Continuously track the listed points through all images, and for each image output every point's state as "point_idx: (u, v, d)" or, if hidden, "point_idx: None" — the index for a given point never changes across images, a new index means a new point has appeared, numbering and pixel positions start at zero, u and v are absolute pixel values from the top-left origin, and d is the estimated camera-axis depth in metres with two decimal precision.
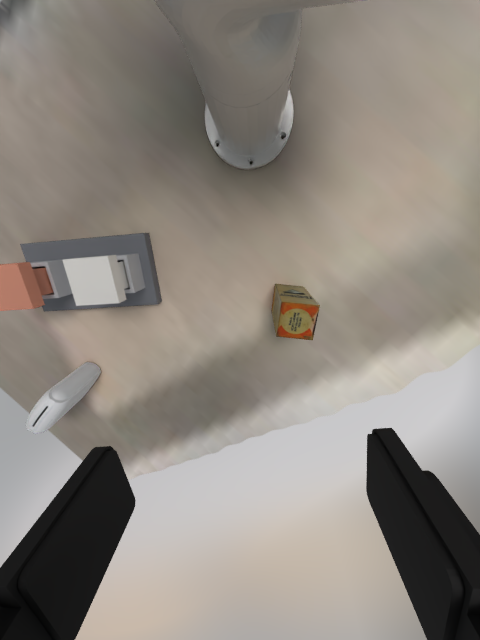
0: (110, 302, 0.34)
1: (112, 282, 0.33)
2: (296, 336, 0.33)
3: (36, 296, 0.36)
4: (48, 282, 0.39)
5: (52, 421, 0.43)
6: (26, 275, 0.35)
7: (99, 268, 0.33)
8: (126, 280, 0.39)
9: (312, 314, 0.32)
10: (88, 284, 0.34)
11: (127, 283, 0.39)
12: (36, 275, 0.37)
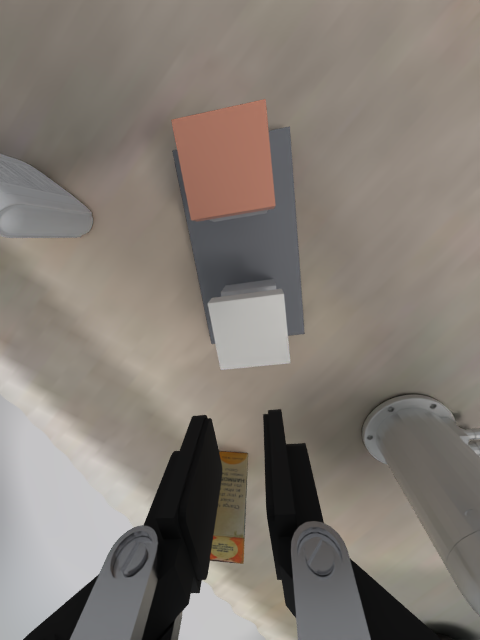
0: (220, 357, 0.22)
1: (251, 365, 0.22)
2: None
3: (213, 217, 0.20)
4: None
5: None
6: (252, 210, 0.19)
7: (271, 349, 0.22)
8: None
9: (232, 559, 0.31)
10: (246, 328, 0.21)
11: None
12: None
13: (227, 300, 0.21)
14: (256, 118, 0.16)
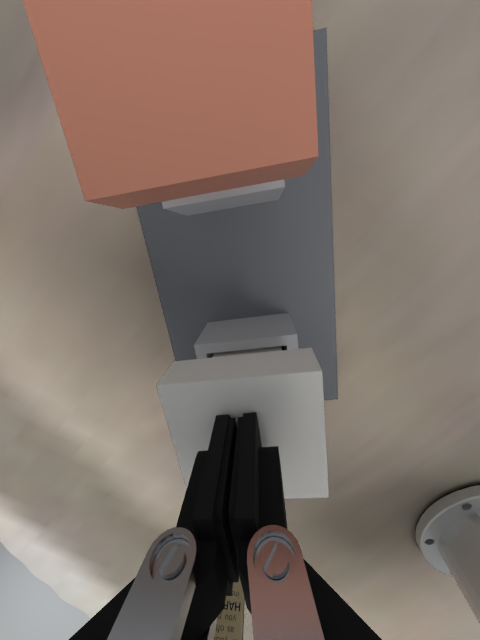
0: (188, 481, 0.11)
1: None
2: None
3: (152, 197, 0.08)
4: None
5: None
6: (250, 176, 0.07)
7: (291, 472, 0.11)
8: None
9: None
10: None
11: None
12: None
13: (198, 378, 0.10)
14: None
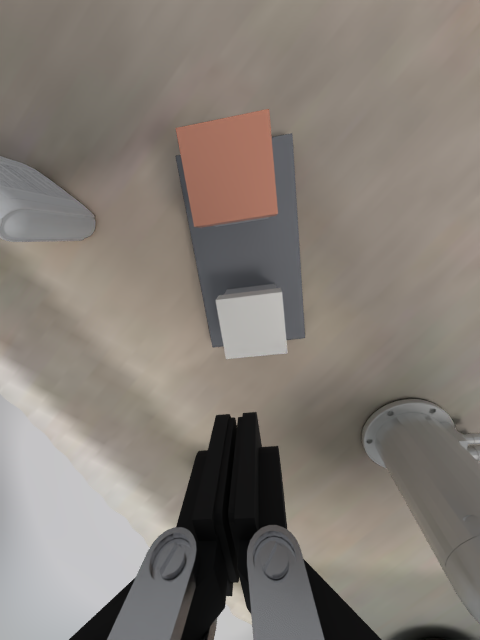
0: (225, 348, 0.25)
1: (253, 354, 0.25)
2: None
3: (216, 224, 0.20)
4: None
5: None
6: (254, 217, 0.19)
7: (271, 340, 0.25)
8: None
9: None
10: (248, 322, 0.24)
11: None
12: None
13: (232, 297, 0.24)
14: (259, 128, 0.16)
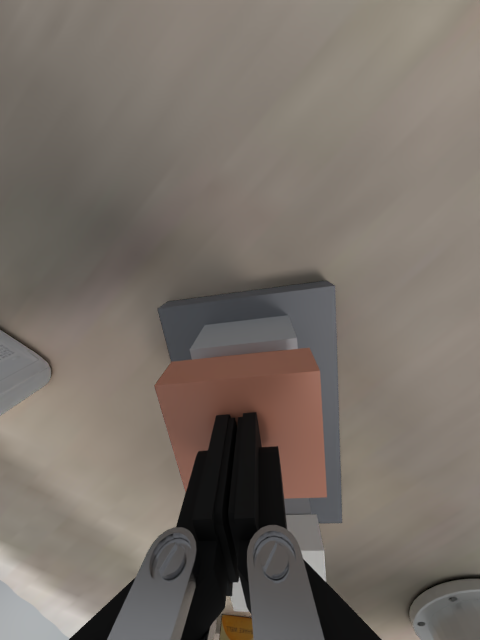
0: (233, 600, 0.17)
1: None
2: None
3: None
4: None
5: None
6: None
7: None
8: None
9: None
10: None
11: None
12: None
13: None
14: (301, 394, 0.09)
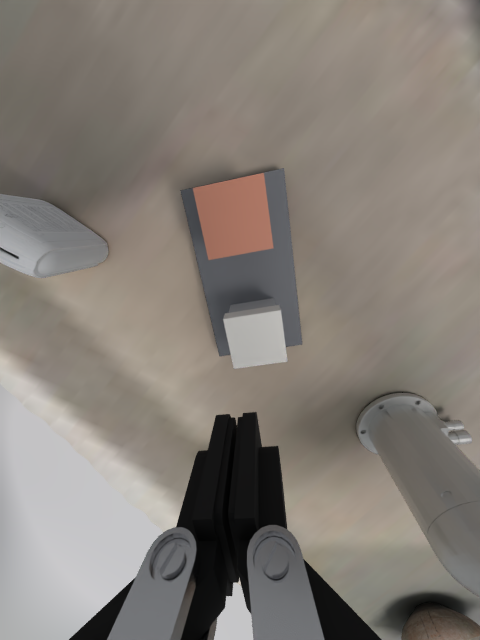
0: (233, 359, 0.29)
1: (257, 364, 0.29)
2: None
3: None
4: None
5: None
6: None
7: (273, 351, 0.28)
8: None
9: None
10: (253, 337, 0.28)
11: None
12: None
13: (238, 316, 0.27)
14: (257, 186, 0.22)
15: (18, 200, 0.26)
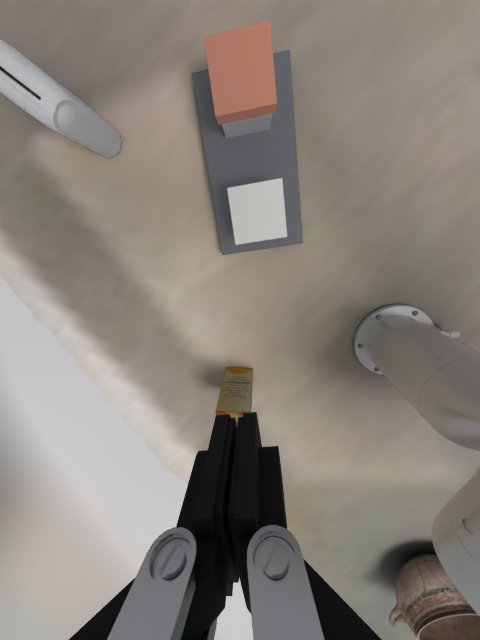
0: (235, 234, 0.30)
1: (258, 239, 0.30)
2: None
3: (230, 118, 0.27)
4: None
5: (8, 97, 0.25)
6: (259, 110, 0.26)
7: (273, 225, 0.30)
8: None
9: None
10: (254, 208, 0.29)
11: None
12: None
13: (241, 185, 0.29)
14: (263, 35, 0.23)
15: None
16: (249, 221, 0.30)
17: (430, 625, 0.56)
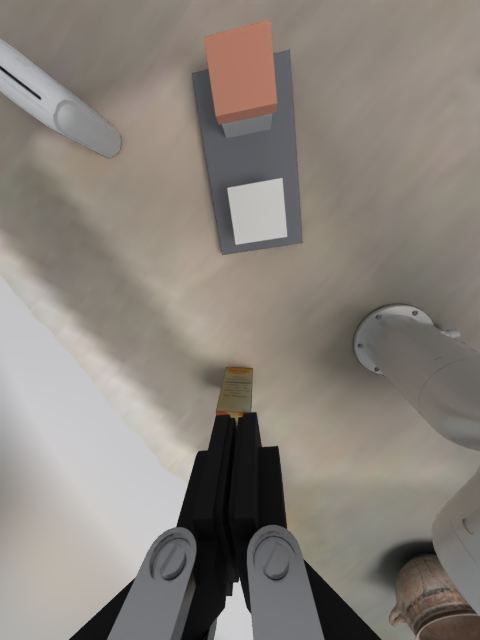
0: (235, 234, 0.30)
1: (258, 239, 0.30)
2: None
3: (231, 118, 0.27)
4: None
5: (8, 97, 0.25)
6: (260, 110, 0.26)
7: (273, 225, 0.30)
8: None
9: None
10: (254, 208, 0.29)
11: None
12: None
13: None
14: (263, 35, 0.23)
15: None
16: (249, 221, 0.30)
17: (430, 625, 0.56)
